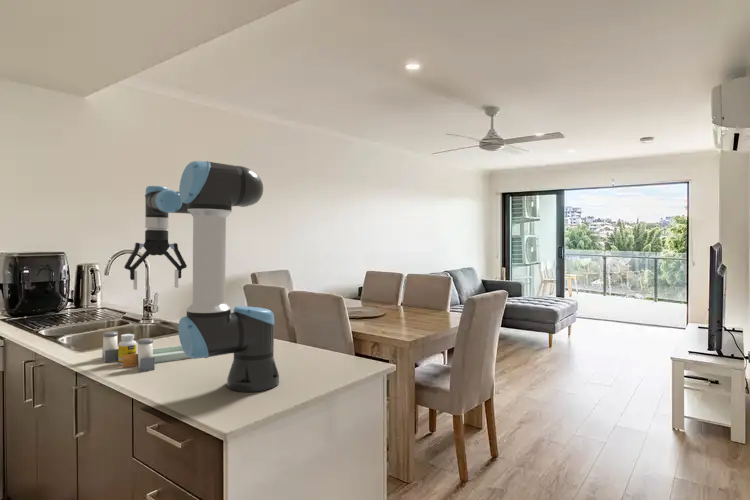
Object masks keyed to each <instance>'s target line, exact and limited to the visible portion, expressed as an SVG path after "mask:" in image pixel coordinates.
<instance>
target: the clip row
mask: <svg viewBox="0 0 750 500" xmlns="http://www.w3.org/2000/svg"><path fill="white" fill-rule="evenodd" d="M101 352H102V354H101V358H102V357H103V345H102V351H101ZM111 362H112V363H113V362H118V349H112V350H105V361H104V363H111ZM155 364H156V363H155V357H149V358H141V362H140V369H139V370H140V372H147V371H153V370H155V367H156V365H155ZM129 367H138V353H137V352H136V353H135V354H126V355H123V365H122V368H129Z"/></svg>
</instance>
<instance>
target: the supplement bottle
mask: <svg viewBox="0 0 750 500" xmlns="http://www.w3.org/2000/svg"><path fill="white" fill-rule="evenodd" d="M120 340H121V341H119V343H118V361H117V362H118V363H117V364H118V365H120V366H123V355H126V354H135V353H136V354H137V341H136V340H135V334H134V333H125V334H121V335H120Z"/></svg>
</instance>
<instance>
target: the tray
mask: <svg viewBox="0 0 750 500" xmlns="http://www.w3.org/2000/svg"><path fill="white" fill-rule="evenodd" d="M153 357H155V364H157V363H159V364H160V363H165V362H173V361H174V362H175V361H180V360H188V359H191V358H190V357H188V356H187V355H186V354H185V352H184V350H183V348H182V346H181V344H179V345H171V346H162V347H156V348H155V347H153Z"/></svg>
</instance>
